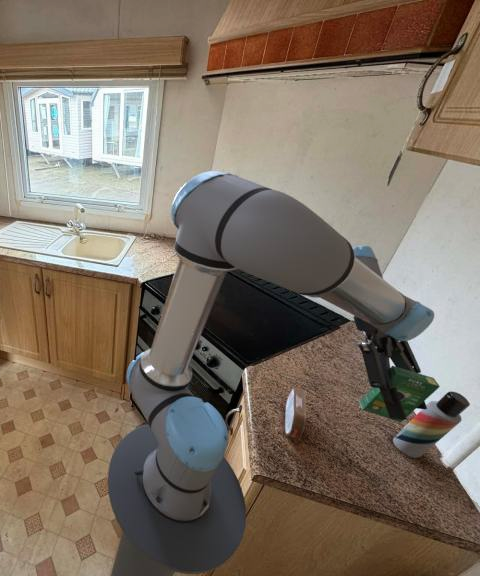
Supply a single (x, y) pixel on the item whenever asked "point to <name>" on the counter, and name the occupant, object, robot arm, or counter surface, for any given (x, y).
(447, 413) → the lotion bottle
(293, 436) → the tin
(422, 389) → the coffee box
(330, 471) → the counter surface
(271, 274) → the robot arm
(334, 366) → the counter surface
